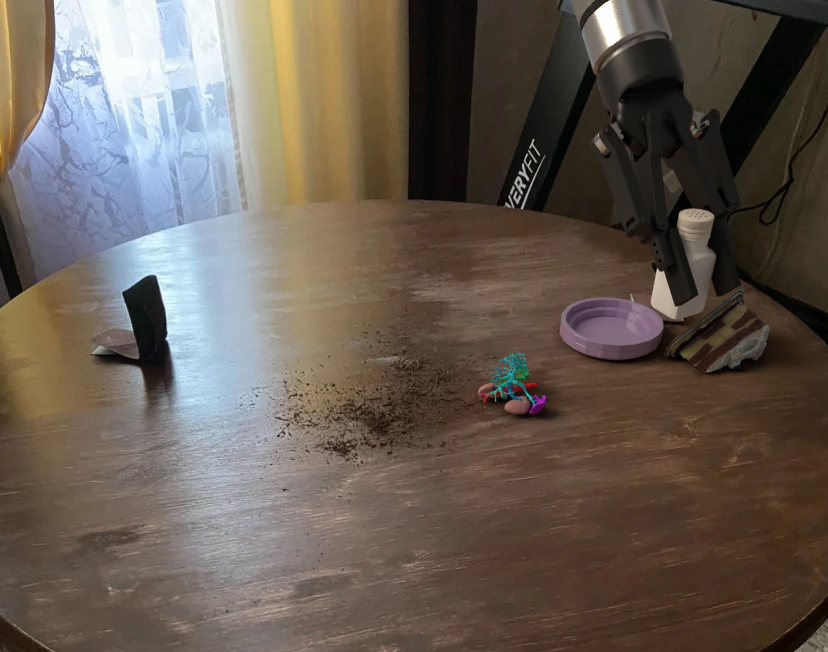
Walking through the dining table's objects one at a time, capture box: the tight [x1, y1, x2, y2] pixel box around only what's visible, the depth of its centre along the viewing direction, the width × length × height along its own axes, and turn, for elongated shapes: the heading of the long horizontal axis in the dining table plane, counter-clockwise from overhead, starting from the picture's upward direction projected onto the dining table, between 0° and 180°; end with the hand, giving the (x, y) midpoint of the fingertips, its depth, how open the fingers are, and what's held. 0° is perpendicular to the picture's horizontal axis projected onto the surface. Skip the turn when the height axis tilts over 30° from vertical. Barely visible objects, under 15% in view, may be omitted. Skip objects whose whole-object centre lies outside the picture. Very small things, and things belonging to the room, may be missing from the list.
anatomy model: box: [477, 350, 547, 416], centre depth 91 cm, size 5×8×7 cm
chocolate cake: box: [664, 284, 771, 374], centre depth 99 cm, size 10×7×12 cm
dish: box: [559, 296, 664, 361], centre depth 103 cm, size 12×12×2 cm
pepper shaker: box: [650, 208, 716, 320], centre depth 80 cm, size 4×4×10 cm
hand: (707, 295), depth 79 cm, fingers closed on pepper shaker, 4 cm apart
